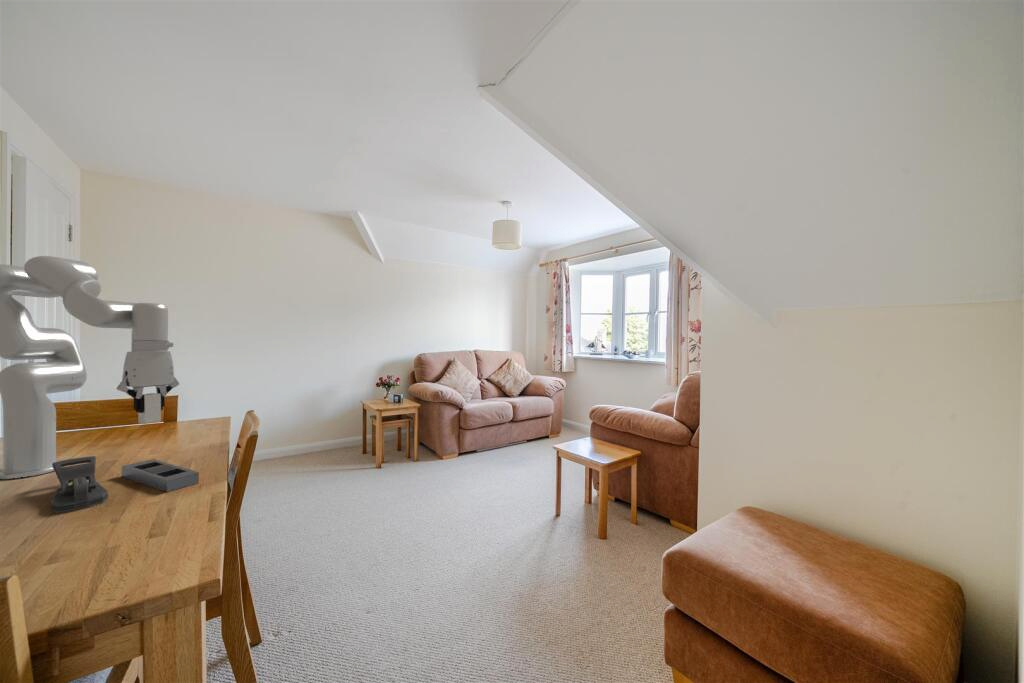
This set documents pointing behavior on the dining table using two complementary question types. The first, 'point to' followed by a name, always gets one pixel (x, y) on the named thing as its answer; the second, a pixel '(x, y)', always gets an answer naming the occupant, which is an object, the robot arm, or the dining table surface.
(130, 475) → the rail
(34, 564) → the dining table surface
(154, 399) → the grey tall square block
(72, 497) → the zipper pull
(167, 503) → the dining table surface
